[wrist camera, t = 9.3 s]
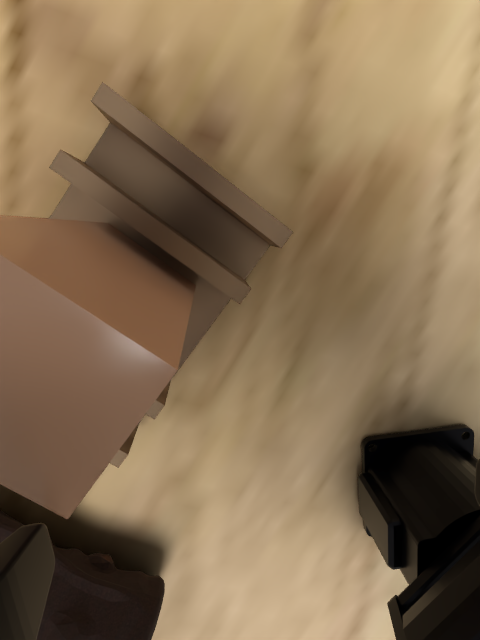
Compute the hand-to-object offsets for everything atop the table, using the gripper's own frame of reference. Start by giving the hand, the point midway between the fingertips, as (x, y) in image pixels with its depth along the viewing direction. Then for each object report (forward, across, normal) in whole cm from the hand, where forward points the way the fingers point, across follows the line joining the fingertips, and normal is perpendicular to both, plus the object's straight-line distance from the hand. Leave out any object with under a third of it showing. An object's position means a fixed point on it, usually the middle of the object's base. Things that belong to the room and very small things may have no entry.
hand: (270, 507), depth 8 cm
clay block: (+12, +5, -3) cm, 14 cm away
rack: (+13, +5, -3) cm, 14 cm away
